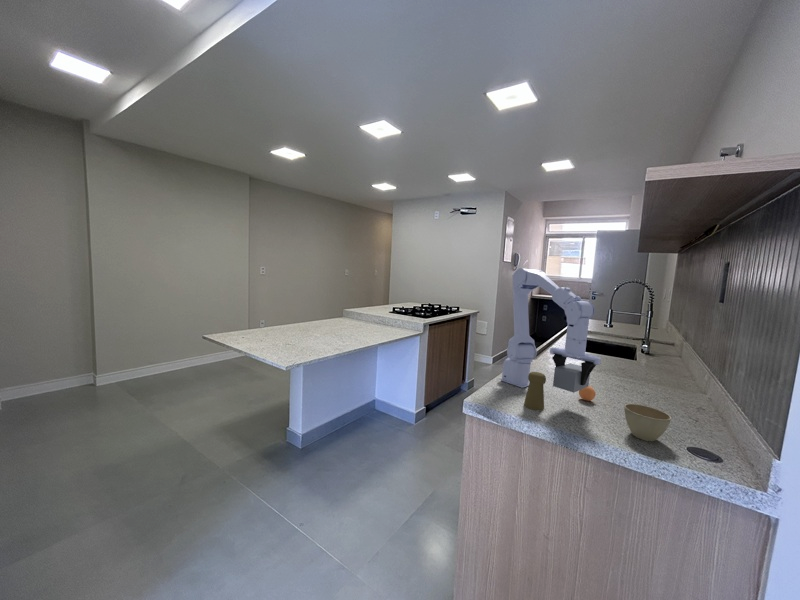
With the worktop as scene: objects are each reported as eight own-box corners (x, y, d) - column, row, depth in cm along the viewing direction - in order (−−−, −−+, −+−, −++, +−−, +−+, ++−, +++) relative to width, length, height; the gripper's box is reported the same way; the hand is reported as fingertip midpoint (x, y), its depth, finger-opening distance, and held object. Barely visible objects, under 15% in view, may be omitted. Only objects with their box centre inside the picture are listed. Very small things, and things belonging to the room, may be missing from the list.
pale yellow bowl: (668, 451, 80) (672, 423, 79) (620, 436, 86) (623, 410, 85) (666, 436, 88) (670, 411, 87) (622, 424, 94) (625, 400, 93)
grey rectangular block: (552, 386, 101) (554, 367, 101) (568, 380, 108) (570, 363, 107) (573, 392, 96) (575, 373, 96) (588, 386, 103) (590, 368, 102)
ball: (575, 399, 112) (577, 385, 111) (581, 396, 115) (583, 382, 114) (591, 404, 108) (592, 389, 107) (596, 401, 111) (598, 387, 110)
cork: (547, 408, 102) (551, 374, 101) (538, 412, 98) (542, 377, 97) (530, 401, 107) (533, 368, 106) (520, 405, 103) (523, 371, 102)
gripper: (547, 335, 104) (542, 376, 105) (596, 345, 93) (591, 390, 94) (557, 333, 108) (553, 373, 109) (605, 343, 97) (600, 386, 98)
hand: (571, 381), depth 102 cm, fingers closed on grey rectangular block, 6 cm apart
